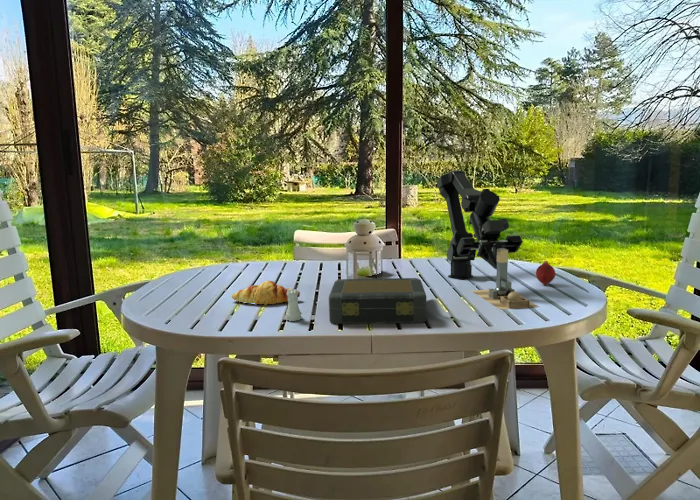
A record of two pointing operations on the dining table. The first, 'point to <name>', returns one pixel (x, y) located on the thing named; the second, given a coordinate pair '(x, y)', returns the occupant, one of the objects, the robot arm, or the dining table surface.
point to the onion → (545, 273)
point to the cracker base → (503, 299)
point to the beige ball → (514, 296)
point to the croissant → (263, 294)
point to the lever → (502, 273)
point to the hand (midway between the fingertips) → (497, 268)
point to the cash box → (377, 301)
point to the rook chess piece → (293, 306)
